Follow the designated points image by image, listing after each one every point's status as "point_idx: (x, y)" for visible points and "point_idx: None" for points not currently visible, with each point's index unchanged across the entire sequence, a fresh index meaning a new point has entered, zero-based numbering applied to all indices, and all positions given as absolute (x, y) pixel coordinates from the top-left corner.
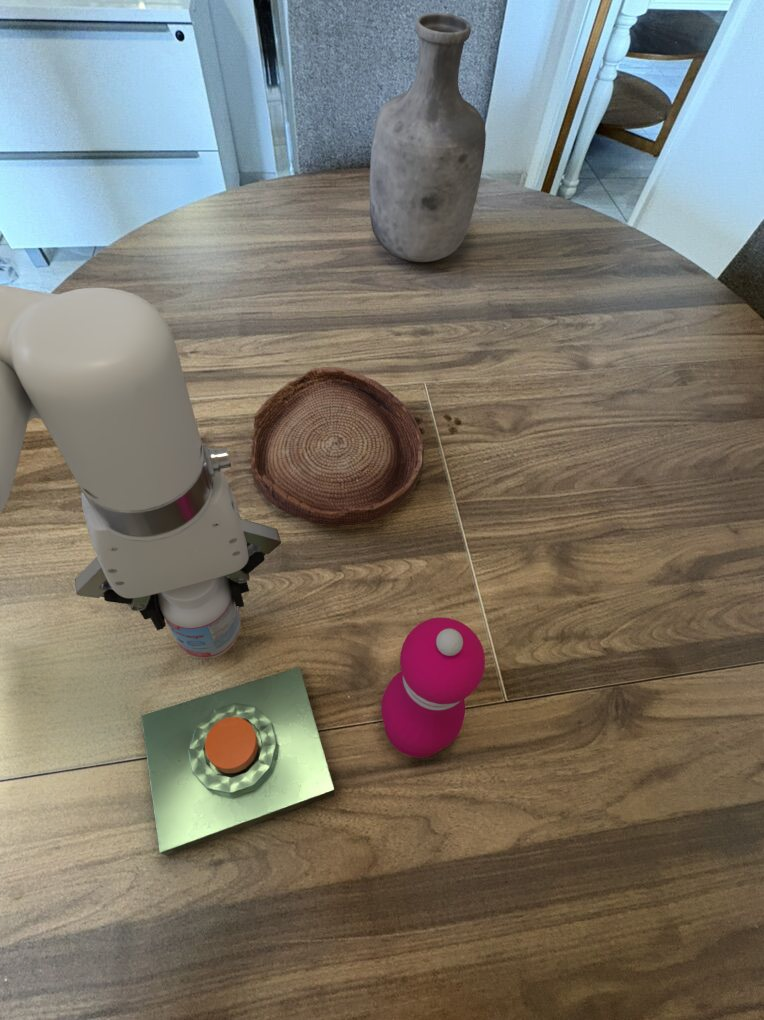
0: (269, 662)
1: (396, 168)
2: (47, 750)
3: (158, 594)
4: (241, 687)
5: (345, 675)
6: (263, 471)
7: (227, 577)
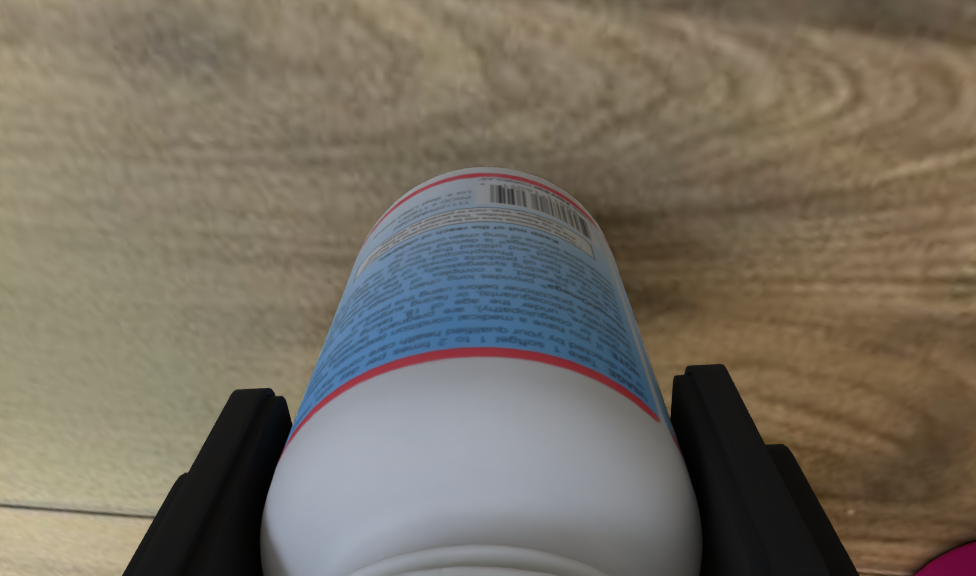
0: (661, 380)
1: None
2: (7, 461)
3: (263, 571)
4: None
5: (872, 463)
6: None
7: (701, 527)
